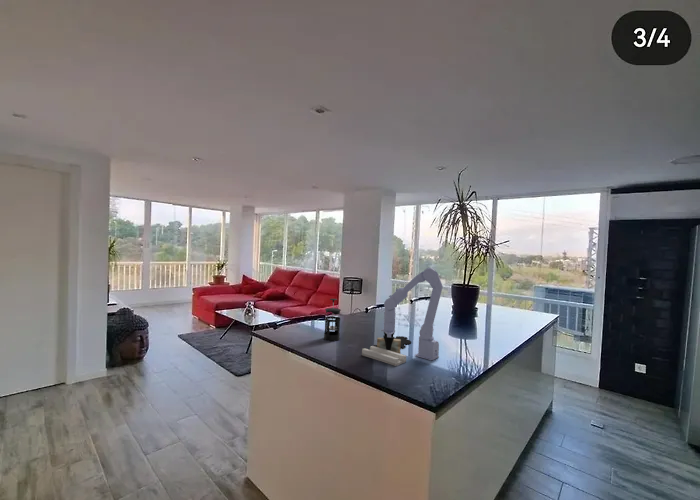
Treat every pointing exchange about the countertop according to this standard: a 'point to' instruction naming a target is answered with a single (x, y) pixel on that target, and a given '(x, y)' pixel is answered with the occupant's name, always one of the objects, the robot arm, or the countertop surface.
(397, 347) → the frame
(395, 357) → the ledge
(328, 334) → the french press
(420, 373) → the countertop surface
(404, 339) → the figurine
